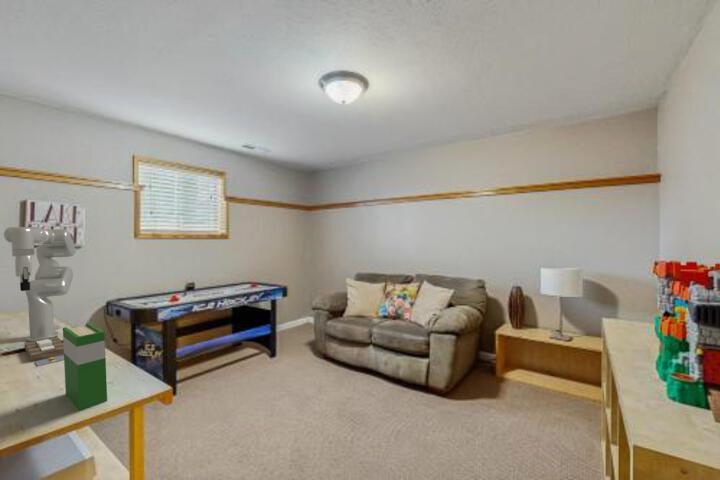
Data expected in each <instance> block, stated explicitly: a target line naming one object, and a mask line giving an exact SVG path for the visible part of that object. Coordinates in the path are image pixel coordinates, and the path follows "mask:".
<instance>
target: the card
mask: <svg viewBox="0 0 720 480" xmlns="http://www.w3.org/2000/svg"><path fill="white" fill-rule="evenodd" d="M62 361H64V355H61V356H56V357H51V358H47V359H43V360H39V361H34V363H35V365H36V366H37V367H41V366H44V365H49V364H54V363H58V362H62Z"/></svg>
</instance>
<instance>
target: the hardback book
mask: <svg viewBox="0 0 720 480" xmlns="http://www.w3.org/2000/svg"><path fill="white" fill-rule="evenodd" d="M105 334H106V333H105V331H104V330H103V329H101V328H99V327H97V326H95V325H94V324H92V323H90V322H87V323H86V322H85V325H82V326H77V327H73V328H72V327H71V328H68V327H67V326H64V327H62V340H63V341H62V342H63V345H64V360H63V363H64V367H63V368H64V383H65V386H64V387H65V395H66V397H67V398H68V399H69V401H71V403H72V404H73V405H74V406H75V407H76V408H77V410H78V411H80V412H81V411H83V410H86V409H89V408H92V407H94V406H97V405H100V404H103V403H106V402H108V385H107V363H106V362H107V361H106V359H107V357H106V340H105V338H106V337H105Z"/></svg>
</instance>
